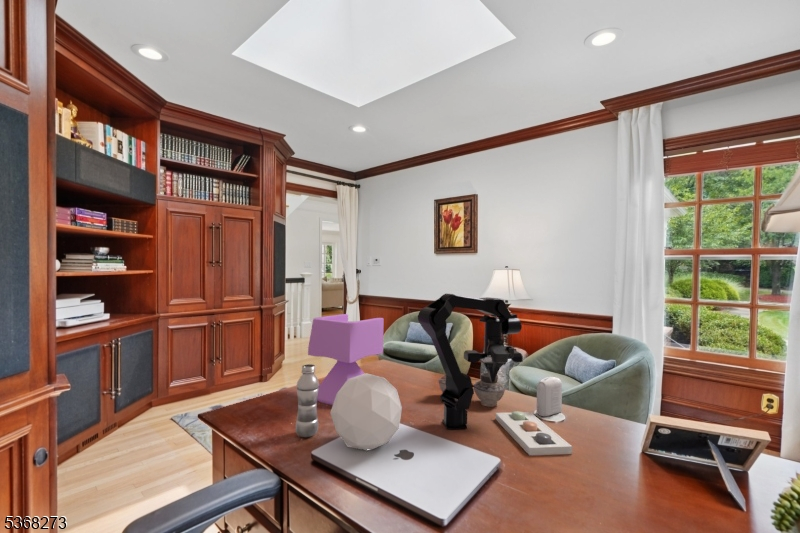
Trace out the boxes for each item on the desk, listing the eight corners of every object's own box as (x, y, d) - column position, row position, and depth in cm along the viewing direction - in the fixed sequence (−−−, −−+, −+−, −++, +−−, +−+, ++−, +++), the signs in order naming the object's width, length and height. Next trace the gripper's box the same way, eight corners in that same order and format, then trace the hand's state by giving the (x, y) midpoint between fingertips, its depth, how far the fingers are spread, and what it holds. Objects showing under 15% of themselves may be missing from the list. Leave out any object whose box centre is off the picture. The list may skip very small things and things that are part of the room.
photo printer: (552, 408, 131) (552, 373, 131) (563, 412, 127) (564, 376, 128) (534, 413, 125) (535, 377, 126) (545, 418, 122) (546, 381, 122)
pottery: (442, 391, 147) (443, 362, 147) (506, 401, 137) (506, 369, 137) (434, 400, 137) (434, 368, 137) (502, 411, 127) (503, 377, 127)
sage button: (514, 425, 114) (515, 416, 115) (509, 420, 118) (509, 411, 119) (526, 425, 115) (527, 415, 115) (521, 420, 119) (521, 411, 119)
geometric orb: (377, 478, 96) (387, 438, 84) (315, 440, 102) (316, 397, 90) (407, 421, 111) (419, 380, 99) (352, 390, 116) (357, 348, 105)
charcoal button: (540, 450, 99) (540, 439, 99) (533, 443, 103) (533, 432, 103) (554, 450, 99) (554, 439, 99) (546, 443, 103) (546, 432, 103)
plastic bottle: (322, 432, 107) (324, 364, 108) (309, 442, 101) (311, 369, 101) (303, 428, 109) (305, 362, 110) (290, 438, 103) (292, 367, 103)
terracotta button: (526, 437, 107) (526, 426, 107) (520, 431, 111) (520, 421, 111) (539, 436, 107) (539, 426, 107) (532, 430, 111) (533, 421, 111)
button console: (529, 455, 96) (529, 447, 96) (495, 418, 120) (495, 412, 120) (572, 453, 98) (572, 446, 98) (530, 418, 121) (530, 412, 121)
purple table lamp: (382, 395, 140) (383, 318, 141) (348, 411, 123) (350, 323, 124) (342, 386, 151) (344, 313, 151) (306, 399, 134) (309, 318, 135)
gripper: (473, 339, 113) (472, 389, 113) (530, 339, 115) (529, 389, 115) (463, 333, 124) (462, 379, 124) (516, 333, 126) (515, 379, 126)
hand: (492, 381), depth 122 cm, fingers closed
